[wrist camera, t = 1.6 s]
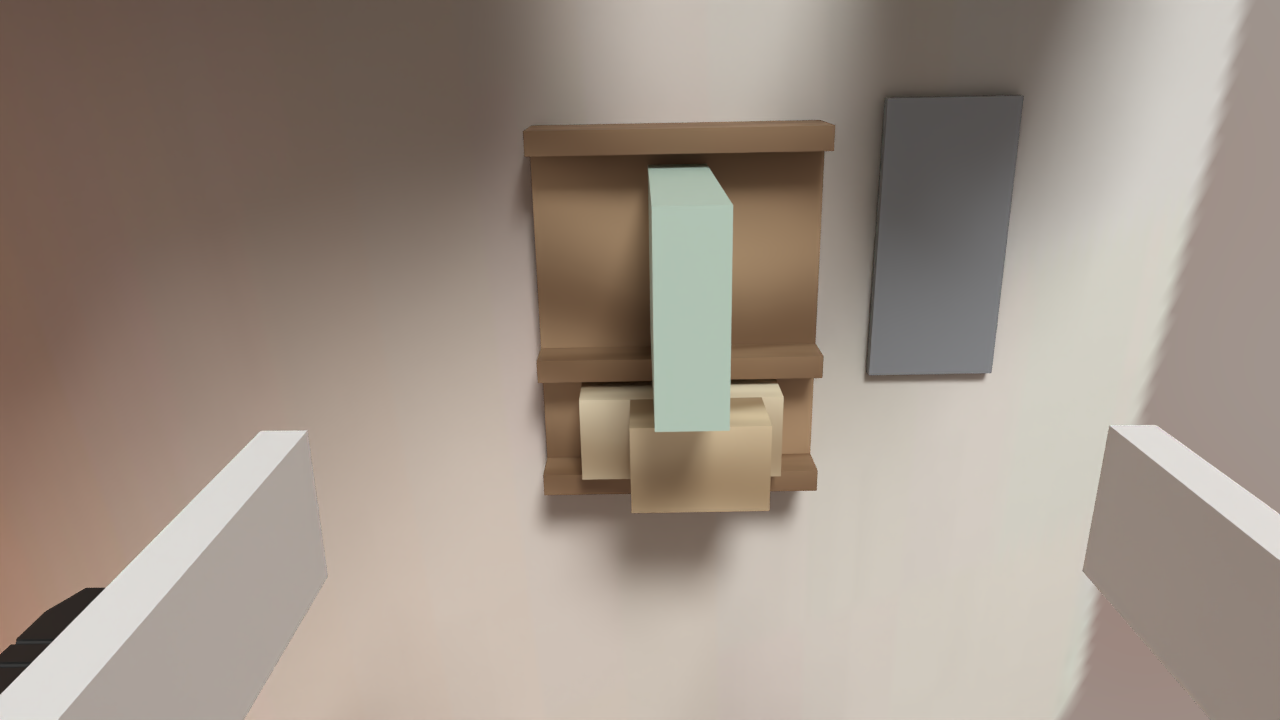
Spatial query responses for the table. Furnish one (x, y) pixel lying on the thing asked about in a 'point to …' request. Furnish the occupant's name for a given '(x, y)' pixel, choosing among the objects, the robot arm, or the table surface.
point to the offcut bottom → (610, 422)
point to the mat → (941, 233)
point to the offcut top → (701, 462)
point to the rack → (620, 278)
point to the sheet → (690, 298)
